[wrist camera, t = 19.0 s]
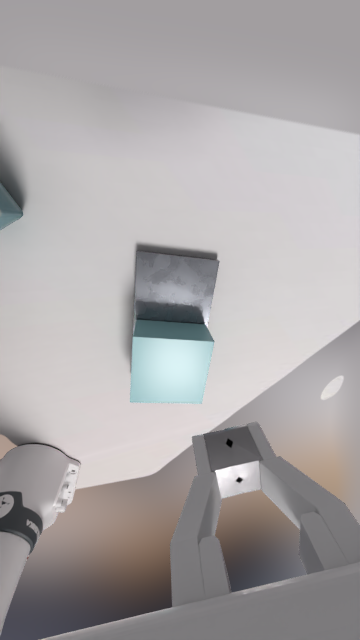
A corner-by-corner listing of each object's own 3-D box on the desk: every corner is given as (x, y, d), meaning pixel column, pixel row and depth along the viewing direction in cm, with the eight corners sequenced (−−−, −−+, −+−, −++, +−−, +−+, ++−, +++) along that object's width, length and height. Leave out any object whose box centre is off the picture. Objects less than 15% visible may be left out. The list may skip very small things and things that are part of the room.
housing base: (195, 378, 44) (201, 398, 39) (132, 375, 42) (128, 397, 37) (217, 259, 35) (228, 265, 30) (137, 250, 34) (133, 254, 28)
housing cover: (195, 379, 42) (201, 403, 36) (133, 377, 41) (130, 402, 35) (205, 324, 38) (214, 341, 32) (136, 319, 36) (132, 336, 30)
